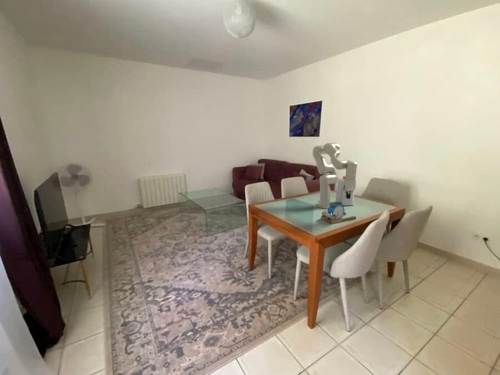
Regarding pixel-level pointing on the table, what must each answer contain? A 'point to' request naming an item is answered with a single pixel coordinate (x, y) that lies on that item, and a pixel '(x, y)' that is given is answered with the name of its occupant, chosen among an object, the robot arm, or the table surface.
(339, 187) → the plastic bottle
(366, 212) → the table surface
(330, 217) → the winch
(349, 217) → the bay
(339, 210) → the alarm clock
